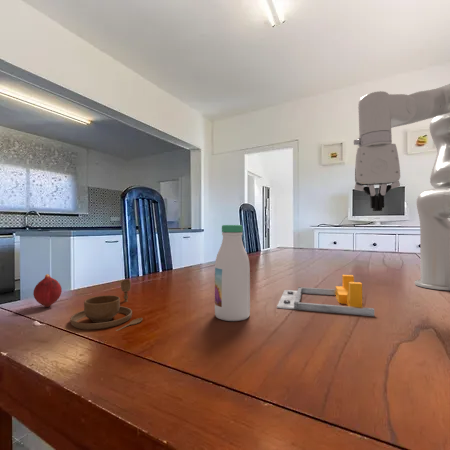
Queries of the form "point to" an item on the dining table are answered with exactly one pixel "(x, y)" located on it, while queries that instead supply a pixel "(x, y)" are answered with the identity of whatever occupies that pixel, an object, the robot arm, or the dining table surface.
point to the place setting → (105, 311)
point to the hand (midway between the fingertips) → (377, 210)
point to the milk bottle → (232, 276)
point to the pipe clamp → (349, 292)
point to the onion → (47, 291)
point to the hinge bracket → (292, 301)
